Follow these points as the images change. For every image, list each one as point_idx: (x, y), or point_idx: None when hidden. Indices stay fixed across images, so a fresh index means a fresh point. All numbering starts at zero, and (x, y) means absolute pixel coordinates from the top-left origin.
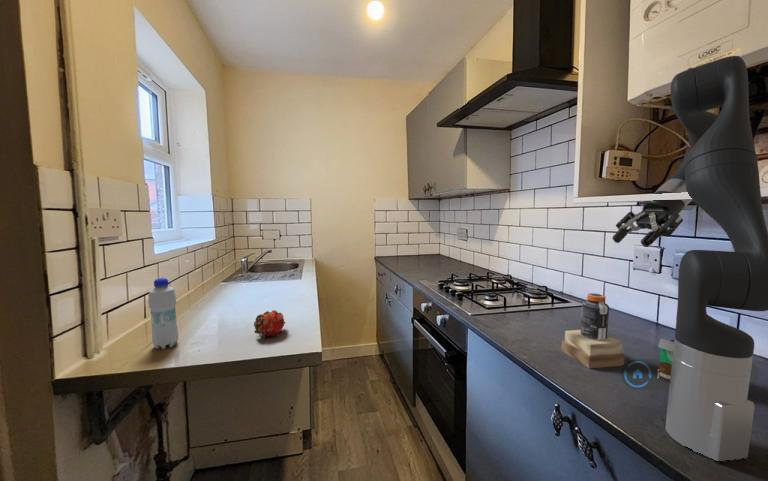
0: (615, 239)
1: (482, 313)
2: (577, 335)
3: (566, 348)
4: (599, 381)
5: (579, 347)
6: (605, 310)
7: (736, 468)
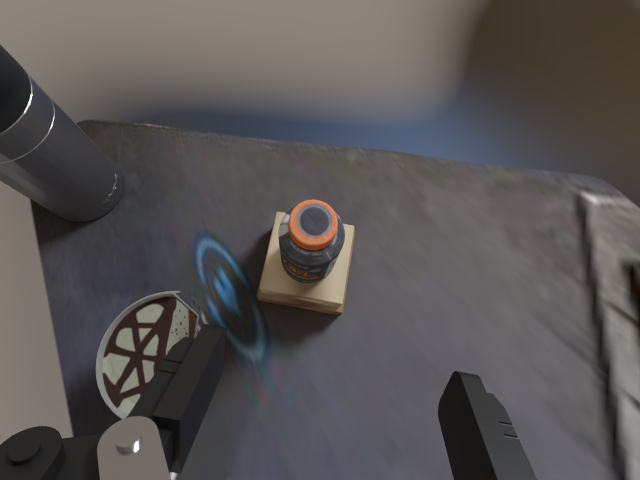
0: (452, 382)
1: (590, 230)
2: None
3: None
4: (237, 202)
5: None
6: (278, 231)
7: None
